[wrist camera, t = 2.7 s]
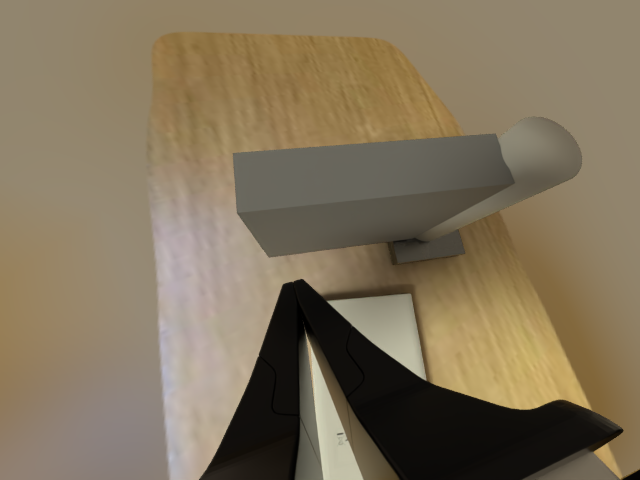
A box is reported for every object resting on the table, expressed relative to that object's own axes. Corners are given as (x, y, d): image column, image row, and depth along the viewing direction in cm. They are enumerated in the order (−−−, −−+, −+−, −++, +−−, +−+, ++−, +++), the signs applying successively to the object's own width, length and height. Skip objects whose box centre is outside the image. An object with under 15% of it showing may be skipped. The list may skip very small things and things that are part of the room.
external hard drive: (403, 293, 19) (434, 472, 16) (307, 302, 18) (320, 493, 15) (412, 292, 18) (449, 491, 15) (307, 302, 17) (322, 515, 14)
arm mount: (457, 255, 20) (465, 253, 19) (392, 265, 19) (397, 263, 18) (438, 193, 21) (445, 188, 20) (377, 200, 21) (381, 195, 20)
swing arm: (446, 238, 19) (594, 178, 9) (269, 262, 17) (233, 217, 8) (436, 203, 20) (563, 114, 10) (265, 222, 18) (228, 136, 8)
